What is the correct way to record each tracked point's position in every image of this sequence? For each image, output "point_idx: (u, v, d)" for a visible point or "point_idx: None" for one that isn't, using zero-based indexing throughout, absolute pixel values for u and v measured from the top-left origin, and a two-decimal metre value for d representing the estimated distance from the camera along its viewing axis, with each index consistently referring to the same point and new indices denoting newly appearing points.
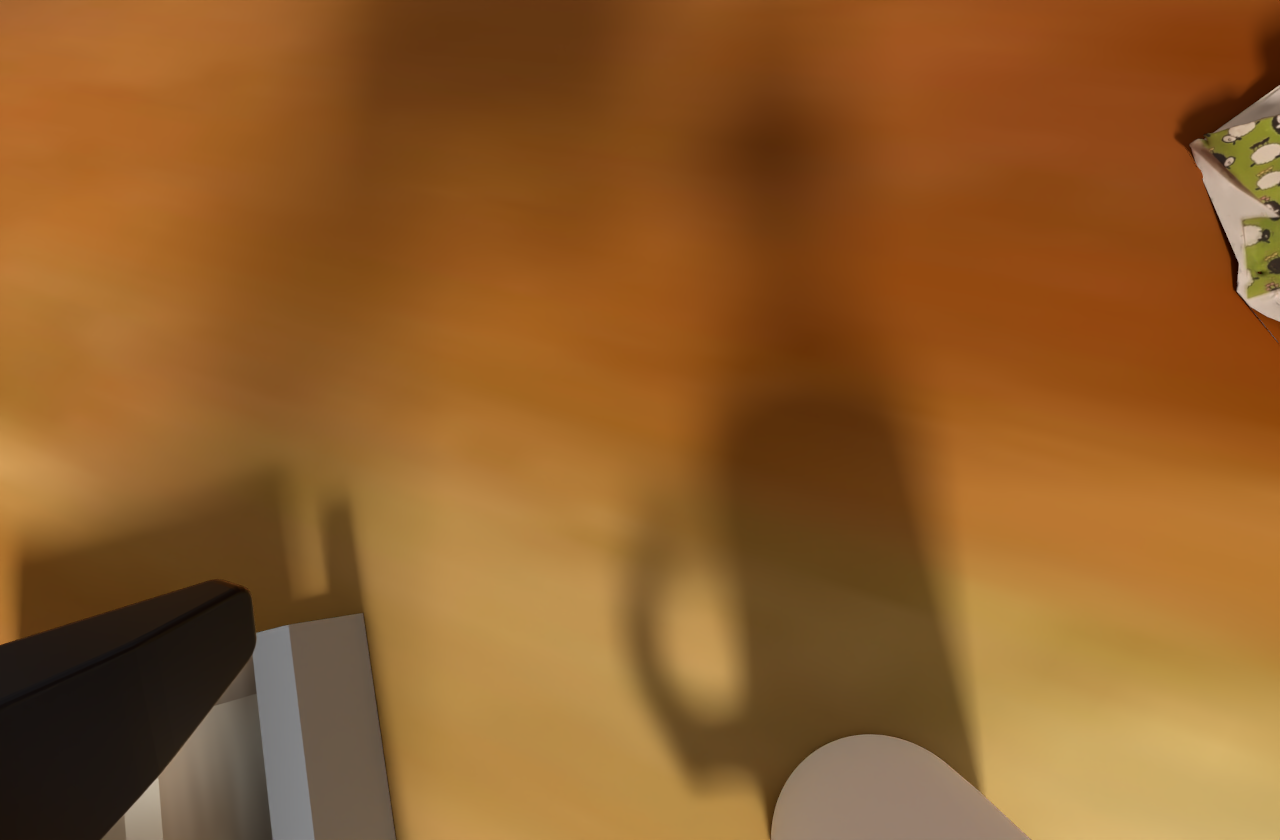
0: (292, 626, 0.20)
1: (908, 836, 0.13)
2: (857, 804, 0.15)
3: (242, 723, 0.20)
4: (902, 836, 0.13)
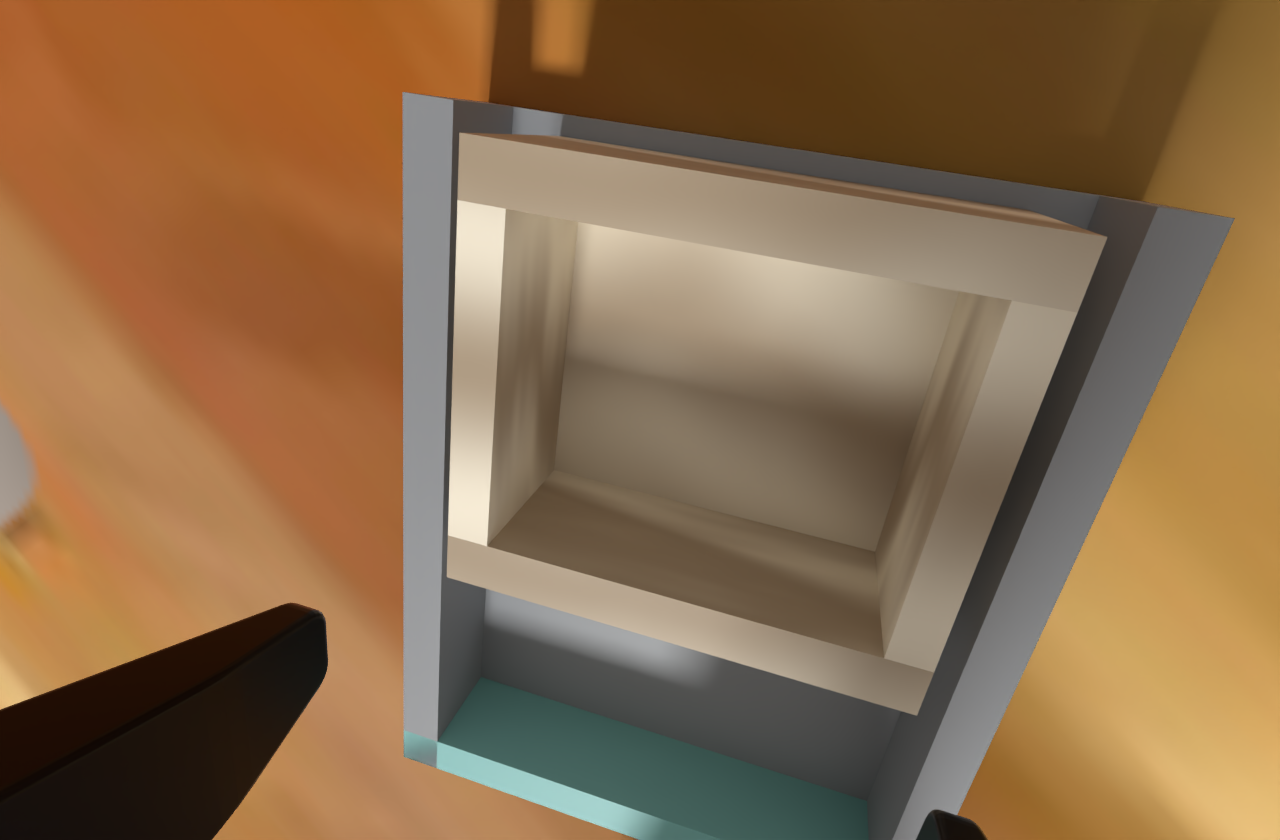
0: None
1: None
2: None
3: None
4: None
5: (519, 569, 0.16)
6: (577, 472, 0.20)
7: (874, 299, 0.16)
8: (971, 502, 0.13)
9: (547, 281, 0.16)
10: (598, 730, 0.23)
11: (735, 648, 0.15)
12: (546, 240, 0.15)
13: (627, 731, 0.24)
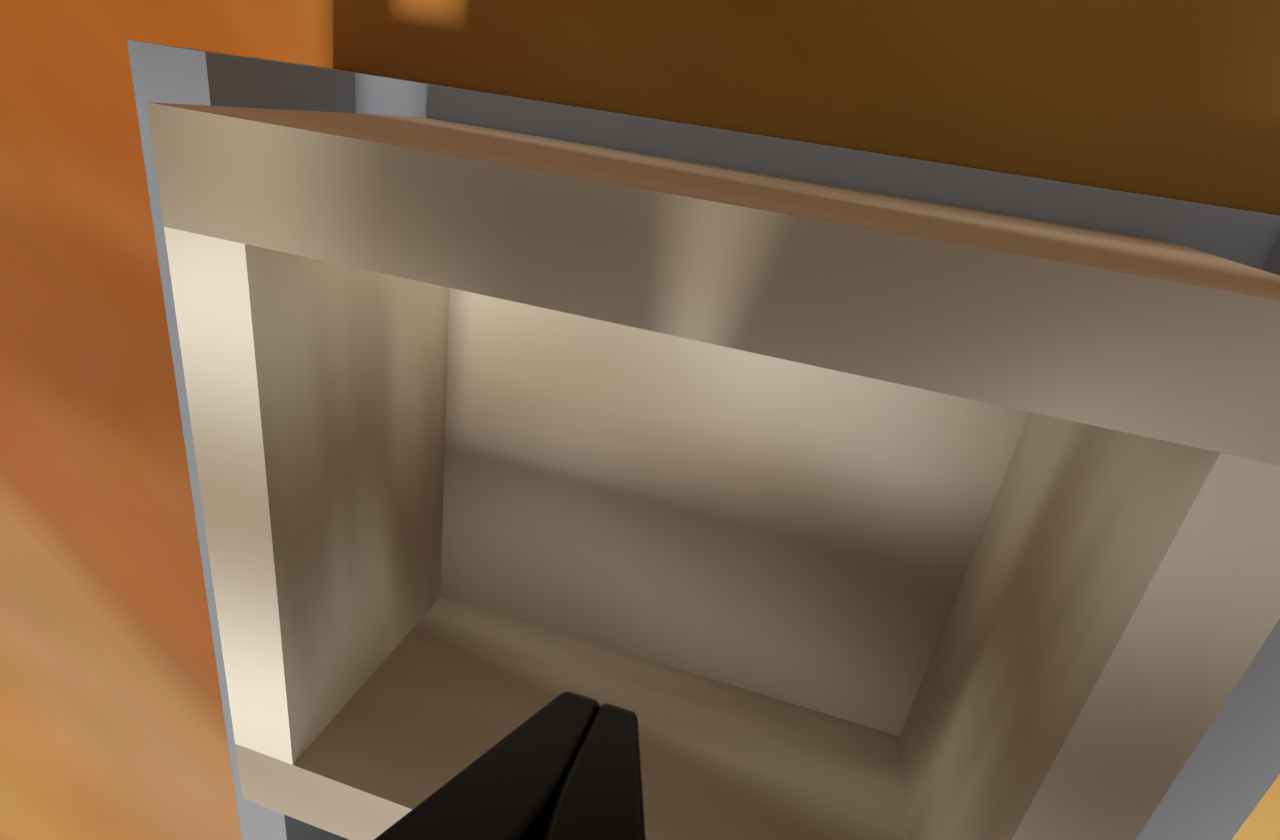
0: None
1: None
2: None
3: None
4: None
5: (344, 801, 0.10)
6: (472, 601, 0.14)
7: None
8: (1100, 796, 0.07)
9: (387, 348, 0.10)
10: None
11: None
12: (375, 285, 0.09)
13: None
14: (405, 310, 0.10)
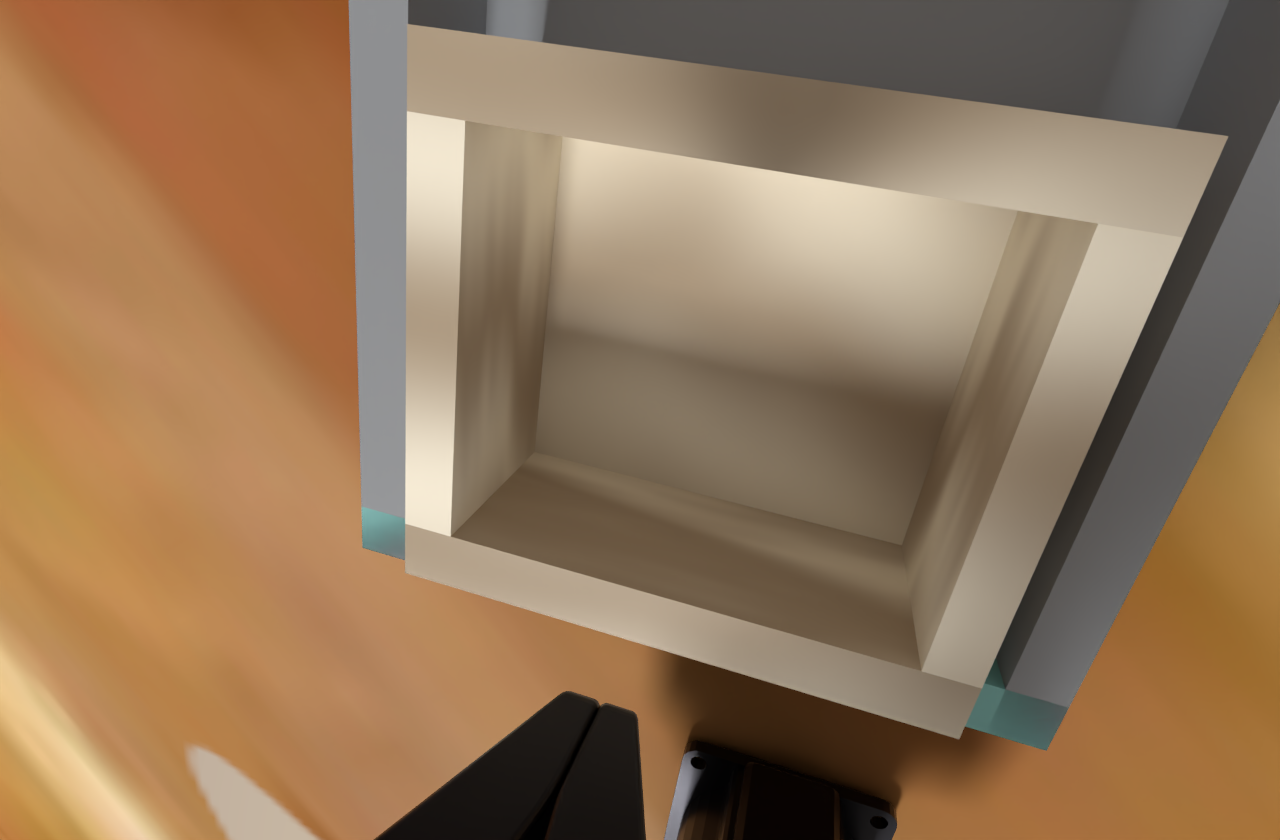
0: None
1: None
2: None
3: None
4: None
5: (488, 563, 0.14)
6: (561, 454, 0.17)
7: (906, 247, 0.14)
8: (1035, 481, 0.10)
9: (522, 224, 0.14)
10: None
11: (742, 658, 0.13)
12: (520, 173, 0.13)
13: None
14: (533, 199, 0.14)
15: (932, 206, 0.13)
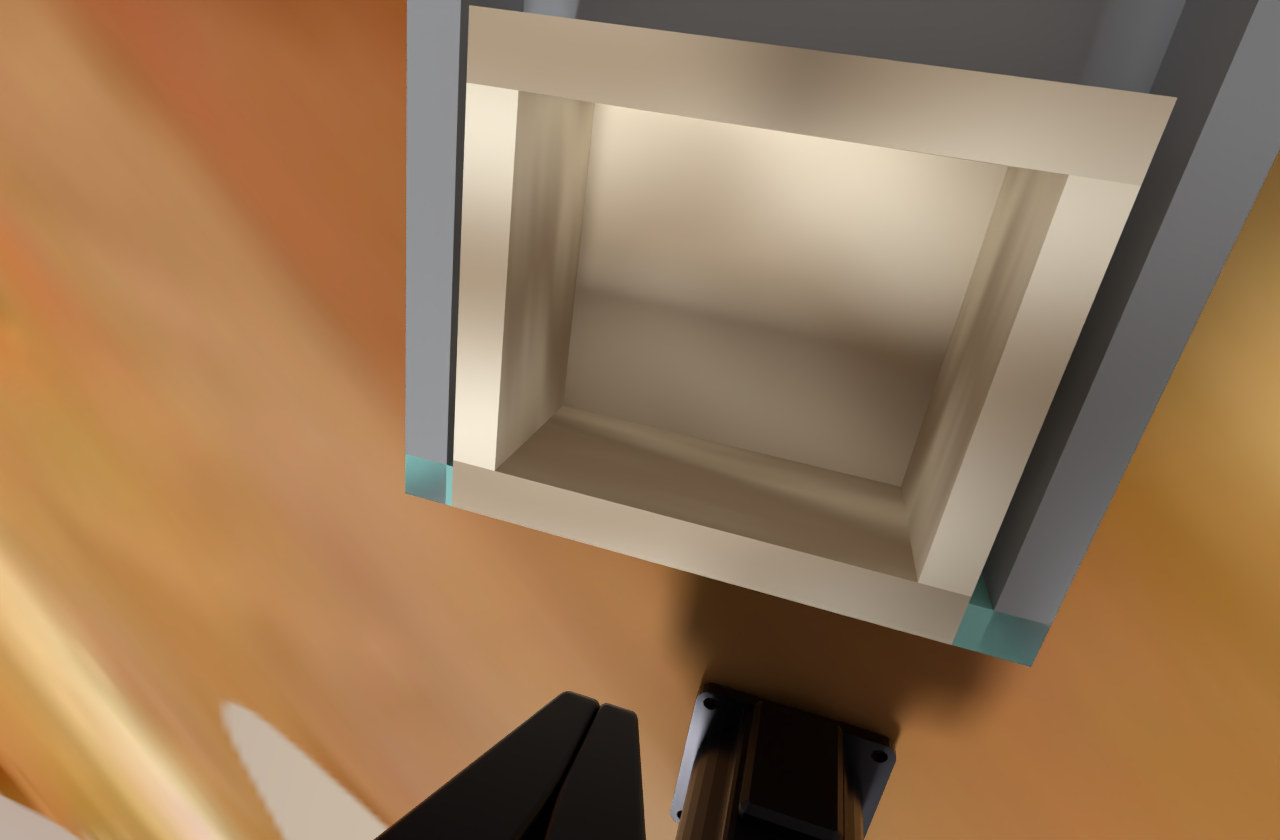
0: None
1: None
2: None
3: None
4: None
5: (529, 495, 0.15)
6: (587, 407, 0.19)
7: (905, 210, 0.15)
8: (1017, 405, 0.12)
9: (559, 189, 0.15)
10: None
11: (758, 576, 0.14)
12: (559, 142, 0.14)
13: None
14: (569, 167, 0.15)
15: (928, 172, 0.15)
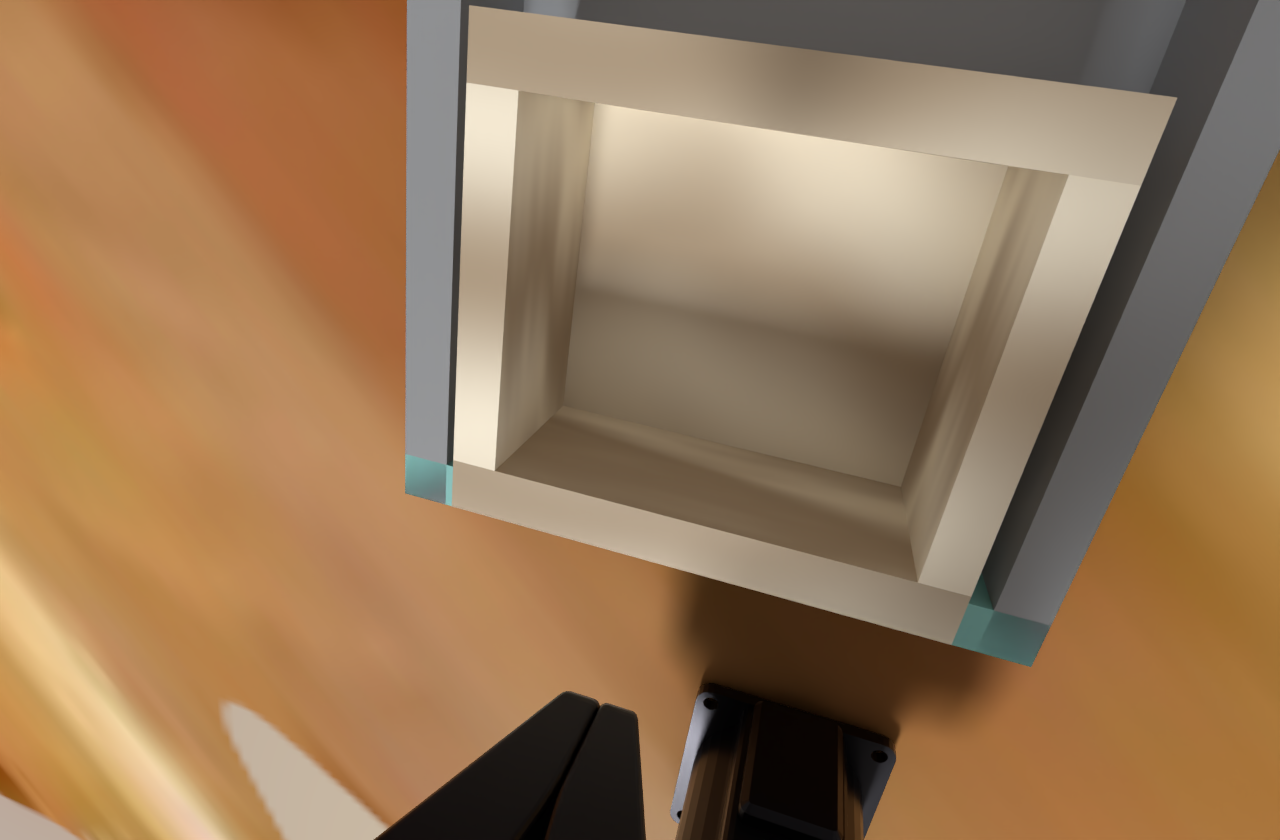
0: None
1: None
2: None
3: None
4: None
5: (529, 495, 0.15)
6: (587, 407, 0.19)
7: (905, 210, 0.15)
8: (1017, 405, 0.12)
9: (559, 189, 0.15)
10: None
11: (758, 576, 0.14)
12: (559, 142, 0.14)
13: None
14: (569, 167, 0.15)
15: (928, 172, 0.15)
